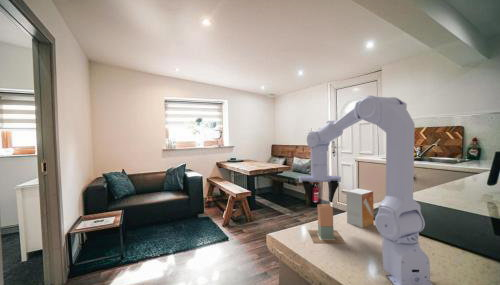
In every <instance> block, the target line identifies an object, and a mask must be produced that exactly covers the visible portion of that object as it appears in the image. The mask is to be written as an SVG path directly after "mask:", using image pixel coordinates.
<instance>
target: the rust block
mask: <svg viewBox="0 0 500 285" xmlns="http://www.w3.org/2000/svg"><path fill="white" fill-rule="evenodd" d="M316 207H317V209H316V210H317V224H318V223H319V225H320V226H324V227H333V228H334V207H332V206H331V204H329V203H326V204H322V203H321V204H320V203H319V204H317V206H316Z"/></svg>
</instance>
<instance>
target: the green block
mask: <svg viewBox="0 0 500 285" xmlns="http://www.w3.org/2000/svg"><path fill="white" fill-rule="evenodd" d="M317 230H318V234H319V236H320V238H321V239H334V226H333V227H324V226H320V225H319V223H318V222H317Z"/></svg>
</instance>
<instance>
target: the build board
mask: <svg viewBox="0 0 500 285" xmlns="http://www.w3.org/2000/svg"><path fill="white" fill-rule="evenodd" d="M307 232H308V234H309V235H310V236H309V237H310V238H311V241H312V243H313V244H319V245H320V244H322V245H325V244H326V245H332V244H333V245H347V242H346V241H345V239H344V238H343V237H342V235H341V234H340V232H339V231H337V229H335V230H334V239H321V238H320V236H319V234H318V229H317V230H316V229H307Z"/></svg>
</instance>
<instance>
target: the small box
mask: <svg viewBox="0 0 500 285" xmlns="http://www.w3.org/2000/svg"><path fill="white" fill-rule="evenodd" d="M345 195H346V223H347V224H348V225H349V224H350V225H352V226H356V227H358V228H361V229H363V228H366V227H368V226H370V225H375V218H374V216H375V214H374V211H375V210H374V191H373V190H368V189H362V188H354V189H350V190H348V191H346V192H345Z"/></svg>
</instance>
